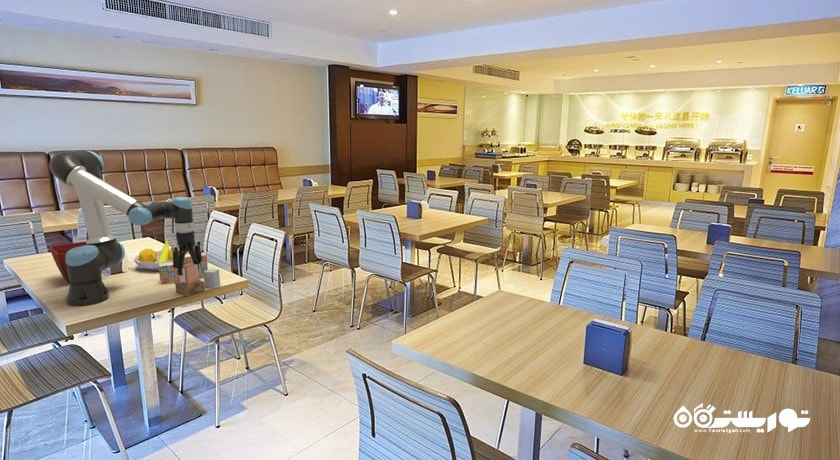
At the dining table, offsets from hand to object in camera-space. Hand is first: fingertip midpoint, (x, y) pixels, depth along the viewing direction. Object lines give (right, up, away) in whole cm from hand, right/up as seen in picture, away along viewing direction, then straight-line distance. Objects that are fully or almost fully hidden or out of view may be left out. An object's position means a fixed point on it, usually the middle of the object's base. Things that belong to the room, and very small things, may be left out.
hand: (189, 279), depth 218 cm
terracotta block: (0, -1, 0) cm, 1 cm away
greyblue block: (+7, -4, +9) cm, 12 cm away
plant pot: (-62, -2, +17) cm, 64 cm away
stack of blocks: (-12, -2, +19) cm, 22 cm away
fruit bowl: (-34, +3, +41) cm, 53 cm away
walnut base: (0, -6, +1) cm, 6 cm away
